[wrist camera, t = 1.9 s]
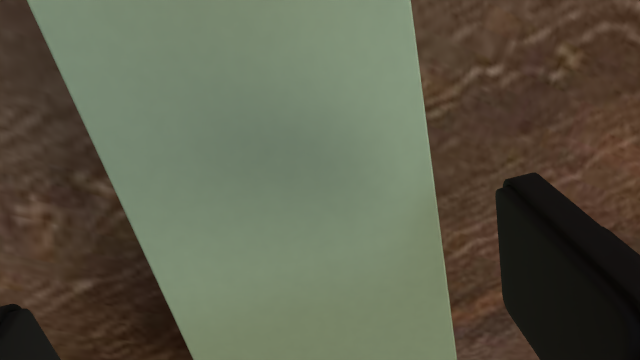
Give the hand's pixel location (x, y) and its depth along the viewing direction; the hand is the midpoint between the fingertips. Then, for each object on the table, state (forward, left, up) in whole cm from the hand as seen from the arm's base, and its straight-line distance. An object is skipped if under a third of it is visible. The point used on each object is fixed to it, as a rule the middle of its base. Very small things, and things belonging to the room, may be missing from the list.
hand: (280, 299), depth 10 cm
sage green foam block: (0, 0, -5) cm, 5 cm away
